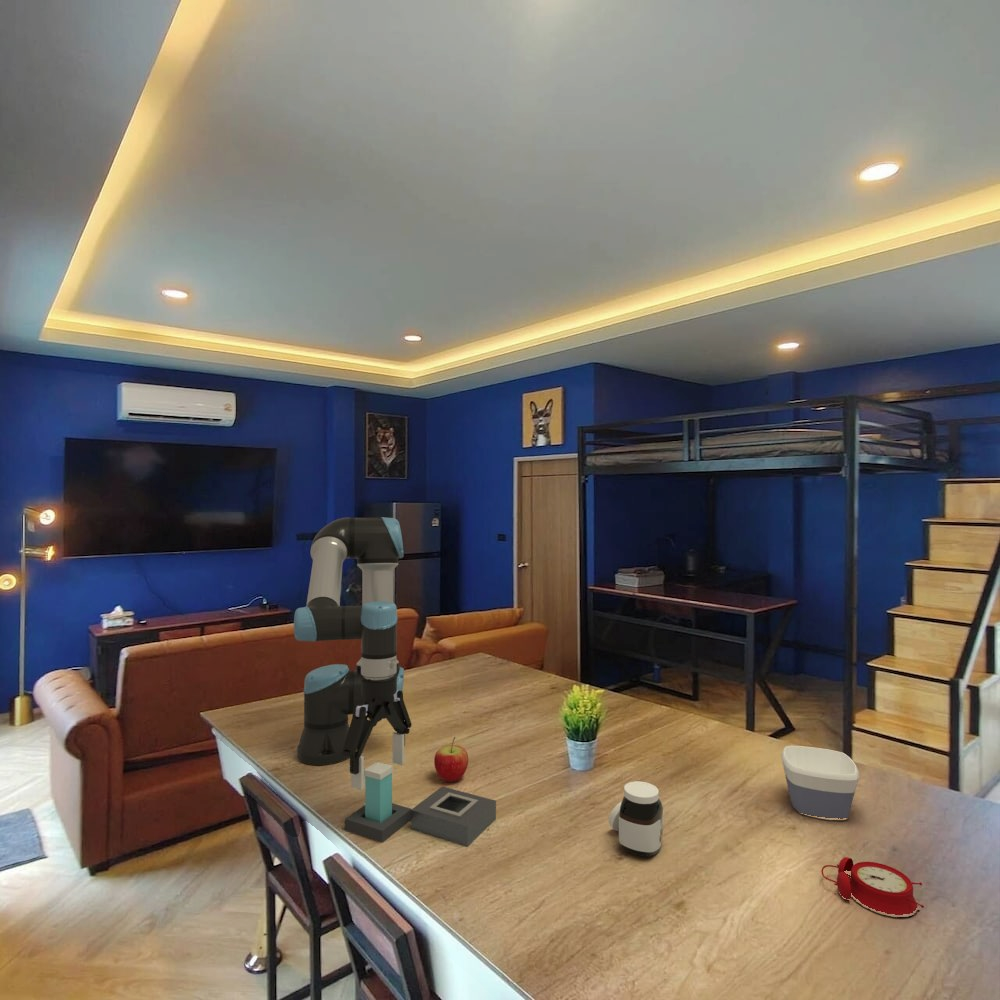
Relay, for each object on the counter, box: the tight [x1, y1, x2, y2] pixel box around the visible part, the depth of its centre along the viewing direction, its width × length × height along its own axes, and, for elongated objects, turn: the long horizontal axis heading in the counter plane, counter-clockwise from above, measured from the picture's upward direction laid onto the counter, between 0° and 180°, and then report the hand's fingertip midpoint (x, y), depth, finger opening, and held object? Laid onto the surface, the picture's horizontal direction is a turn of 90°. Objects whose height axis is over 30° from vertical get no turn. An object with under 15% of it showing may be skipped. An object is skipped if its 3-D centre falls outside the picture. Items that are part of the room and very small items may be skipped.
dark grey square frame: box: [344, 802, 412, 843], centre depth 131 cm, size 10×10×2 cm
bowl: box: [781, 745, 860, 819], centre depth 139 cm, size 15×15×11 cm
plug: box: [364, 761, 394, 823], centre depth 131 cm, size 4×4×12 cm
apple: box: [433, 736, 469, 783], centre depth 152 cm, size 8×8×10 cm
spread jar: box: [608, 780, 664, 858], centre depth 125 cm, size 12×11×12 cm
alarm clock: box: [820, 856, 925, 915], centre depth 108 cm, size 10×6×15 cm
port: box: [410, 786, 497, 847], centre depth 131 cm, size 14×12×4 cm
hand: (378, 775), depth 131 cm, fingers open, 13 cm apart
